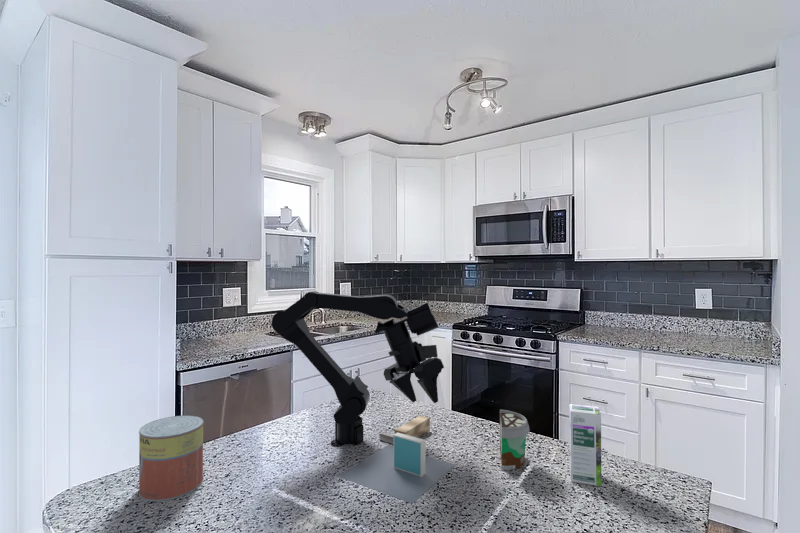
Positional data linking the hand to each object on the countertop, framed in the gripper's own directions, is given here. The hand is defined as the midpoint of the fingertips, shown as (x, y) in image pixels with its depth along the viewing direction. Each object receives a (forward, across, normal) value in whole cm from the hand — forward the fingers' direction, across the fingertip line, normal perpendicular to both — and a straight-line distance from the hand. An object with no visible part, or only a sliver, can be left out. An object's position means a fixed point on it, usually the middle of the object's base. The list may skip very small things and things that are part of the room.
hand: (425, 401), depth 101 cm
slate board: (+8, -6, +16) cm, 19 cm away
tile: (+8, -7, +14) cm, 18 cm away
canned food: (-9, +14, +53) cm, 56 cm away
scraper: (+9, +7, +3) cm, 12 cm away
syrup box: (+23, -27, -12) cm, 37 cm away
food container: (+18, -16, -6) cm, 24 cm away
